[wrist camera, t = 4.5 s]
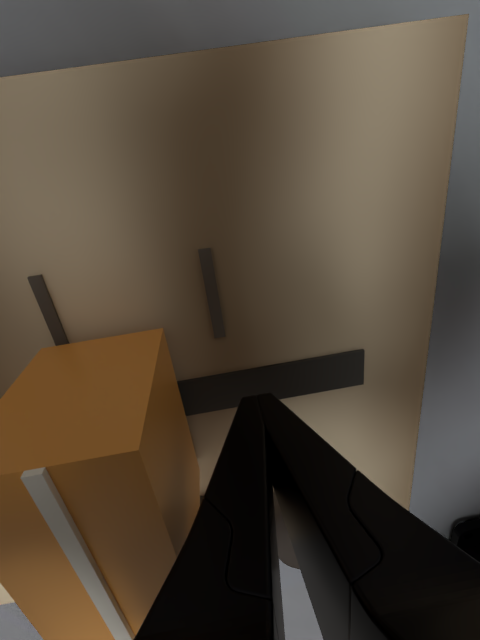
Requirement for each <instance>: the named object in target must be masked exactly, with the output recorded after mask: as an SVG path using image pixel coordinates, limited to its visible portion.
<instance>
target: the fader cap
mask: <svg viewBox="0 0 480 640" xmlns="http://www.w3.org/2000/svg"><path fill="white" fill-rule="evenodd" d="M199 507H200V469H199V465H198V461H197V457H196V453H195V450H194V446H193V442H192V438H191V434H190V430H189V426H188V422H187V419H186V415H185V411H184V407H183V403H182V399H181V395H180V392H179V388H178V384H177V380H176V376H175V372H174V368H173V365H172V361H171V357H170V353H169V349H168V345H167V341H166V337H165V334H164V330H163V328H160V329H154V330H148V331H142V332H136V333H130V334H124V335H118V336H112V337H106V338H100V339H94V340H88V341H82V342H76V343H70V344H64V345H58V346H53V347H47V348H41V349H40V351H39V352H38V353H37V354H36V356H35V357H34V358H33V359H32V360H31V362H30V363H29V364H28V365H27V367H26V368H25V369H24V370H23V372H22V373H21V374H20V375H19V377H18V378H17V379H16V380H15V381H14V383H13V384H12V385H11V386H10V388H9V389H8V390H7V391H6V393H5V394H4V395H3V396H2V398H1V399H0V583H1V584H2V586H3V587H4V588H5V590H6V591H7V592H8V593H9V595H10V596H11V597H12V599H13V600H14V601H15V603H16V604H17V605H18V607H19V608H20V609H21V610H22V612H23V613H24V614H25V616H26V617H27V618H28V620H29V621H30V622H31V624H32V625H33V626H34V627H35V629H36V630H37V631H38V633H39V634H40V635H41V637H42V638H43V639H44V640H133V639H134V638H135V636H136V634H137V632H138V630H139V629H140V627H141V625H142V623H143V621H144V619H145V617H146V615H147V614H148V612H149V610H150V608H151V606H152V604H153V602H154V600H155V598H156V596H157V595H158V593H159V591H160V589H161V587H162V585H163V583H164V581H165V579H166V577H167V576H168V574H169V572H170V570H171V568H172V566H173V564H174V562H175V560H176V558H177V556H178V554H179V552H180V550H181V548H182V546H183V544H184V542H185V540H186V538H187V536H188V534H189V531H190V529H191V527H192V524H193V522H194V519H195V517H196V515H197V512H198V510H199Z"/></svg>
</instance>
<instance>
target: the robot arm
mask: <svg viewBox="0 0 480 640" xmlns="http://www.w3.org/2000/svg"><path fill="white" fill-rule="evenodd" d="M273 489H274V492H275V495H276V498H277V501H278V504H279V507H280V510H281V513H282V516H283V519H284V522H285V525H286V528H287V531H288V534H289V537H290V540H291V543H292V546H293V549H294V552H295V555H296V558H297V561H298V564H299V567H300V570H301V573H302V576H303V579H304V582H305V585H306V588H307V591H308V594H309V597H310V600H311V603H312V606H313V609H314V612H315V615H316V618H317V621H318V624H319V627H320V630H321V633H322V636H323V639H324V640H480V519H476V520H471V521H466V522H462V523H460V524H458V525H457V526H456V527H455V528H454V530H453V534H452V539H451V542H450V541H449V540H448V539H446V538H445V537H443V536H442V535H441V534H439V533H438V532H437V531H435V530H434V529H432V528H431V527H430V526H428V525H427V524H425V523H424V522H423V521H421V520H420V519H419V518H417V517H416V516H414V515H413V514H412V513H410V512H409V511H408V510H406V509H405V508H404V507H402V506H401V505H400V504H398V503H397V502H396V501H395V500H393V499H392V498H391V497H389V496H388V495H387V494H386V493H385V492H383V491H382V490H381V489H380V488H379V487H377V486H376V485H375V484H374V483H373V482H371V481H370V480H369V479H368V478H367V477H366V476H365V475H364V474H362V473H361V472H360V471H359V470H357V469H356V467H354V466H353V465H352V464H351V463H350V462H349V461H348V460H347V459H345V458H344V457H343V456H342V455H341V454H340V453H339V452H338V451H336V450H335V449H334V448H333V447H332V446H331V445H330V444H329V443H327V442H326V441H325V440H324V439H323V438H322V437H321V436H320V435H318V434H317V433H316V432H315V431H314V430H313V429H312V428H311V427H309V426H308V425H307V424H306V423H305V422H304V421H303V420H302V419H300V418H299V417H298V416H297V415H296V414H295V413H294V412H293V411H291V410H290V409H289V408H288V407H287V406H286V405H285V404H283V403H282V402H281V401H280V400H279V399H278V398H277V397H276V396H274V395H273V394H272V393H263V394H258V395H257V396H256V395H252V396H246V397H242V398H241V400H240V403H239V405H238V408H237V410H236V413H235V416H234V418H233V421H232V424H231V426H230V429H229V431H228V434H227V437H226V439H225V442H224V444H223V447H222V450H221V452H220V455H219V458H218V460H217V463H216V465H215V468H214V471H213V473H212V476H211V479H210V481H209V484H208V486H207V489H206V492H205V494H204V499H202V502H201V504H200V507H199V510H198V512H197V515H196V517H195V519H194V522H193V524H192V527H191V529H190V531H189V534H188V536H187V538H186V540H185V542H184V544H183V546H182V548H181V550H180V552H179V554H178V556H177V558H176V560H175V562H174V564H173V566H172V568H171V570H170V572H169V574H168V576H167V577H166V579H165V581H164V583H163V585H162V587H161V589H160V591H159V593H158V595H157V596H156V598H155V600H154V602H153V604H152V606H151V608H150V610H149V612H148V614H147V615H146V617H145V619H144V621H143V623H142V625H141V627H140V629H139V630H138V632H137V634H136V636H135V638H134V639H133V640H285V632H284V620H283V607H282V595H281V582H280V570H279V557H278V545H277V532H276V520H275V507H274V495H273Z"/></svg>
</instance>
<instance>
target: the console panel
mask: <svg viewBox="0 0 480 640" xmlns="http://www.w3.org/2000/svg"><path fill="white" fill-rule="evenodd" d="M468 17H469V14H464V15H457V16H450V17H442V18H435V19H428V20H420V21H413V22H405V23H398V24H391V25H383V26H376V27H368V28H361V29H354V30H346V31H339V32H332V33H324V34H317V35H309V36H302V37H295V38H287V39H280V40H272V41H265V42H258V43H250V44H243V45H236V46H228V47H221V48H213V49H206V50H199V51H191V52H184V53H176V54H169V55H162V56H154V57H147V58H140V59H132V60H125V61H117V62H110V63H103V64H95V65H88V66H81V67H73V68H66V69H58V70H51V71H44V72H36V73H29V74H21V75H14V76H7V77H0V399H1V398H2V396H3V395H4V394H5V393H6V391H7V390H8V389H9V388H10V386H11V385H12V384H13V383H14V381H15V380H16V379H17V378H18V377H19V375H20V374H21V373H22V372H23V370H24V369H25V368H26V367H27V365H28V364H29V363H30V362H31V360H32V359H33V358H34V357H35V356H36V354H37V353H38V352H39V351H40V349H41V348H47V347H53V346H58V345H64V344H70V343H76V342H82V341H88V340H94V339H100V338H106V337H112V336H118V335H124V334H130V333H136V332H142V331H148V330H154V329H160V328H163V330H164V334H165V337H166V341H167V345H168V349H169V353H170V357H171V361H172V365H173V368H174V372H175V376H176V380H177V384H178V388H179V392H180V395H181V399H182V403H183V407H184V411H185V415H186V419H187V422H188V426H189V430H190V434H191V438H192V442H193V446H194V450H195V453H196V457H197V461H198V465H199V469H200V504H201V502H202V499H204V494H205V492H206V489H207V486H208V484H209V481H210V479H211V476H212V473H213V471H214V468H215V465H216V463H217V460H218V458H219V455H220V452H221V450H222V447H223V444H224V442H225V439H226V437H227V434H228V431H229V429H230V426H231V424H232V421H233V418H234V416H235V413H236V410H237V408H238V405H239V403H240V400H241V398H242V397H246V396H252V395H256V396H257V395H258V394H263V393H272V394H273V395H274V396H276V397H277V398H278V399H279V400H280V401H281V402H282V403H283V404H285V405H286V406H287V407H288V408H289V409H290V410H291V411H293V412H294V413H295V414H296V415H297V416H298V417H299V418H300V419H302V420H303V421H304V422H305V423H306V424H307V425H308V426H309V427H311V428H312V429H313V430H314V431H315V432H316V433H317V434H318V435H320V436H321V437H322V438H323V439H324V440H325V441H326V442H327V443H329V444H330V445H331V446H332V447H333V448H334V449H335V450H336V451H338V452H339V453H340V454H341V455H342V456H343V457H344V458H345V459H347V460H348V461H349V462H350V463H351V464H352V465H353V466H354V467H356V469H357V470H359V471H360V472H361V473H362V474H364V475H365V476H366V477H367V478H368V479H369V480H370V481H371V482H373V483H374V484H375V485H376V486H377V487H379V488H380V489H381V490H382V491H383V492H385V493H386V494H387V495H388V496H389V497H391V498H392V499H393V500H395V501H396V502H397V503H398V504H400V505H401V506H402V507H404V508H405V509H406V510H408V511H409V505H410V497H411V489H412V480H413V472H414V464H415V455H416V447H417V439H418V431H419V422H420V414H421V406H422V398H423V389H424V381H425V373H426V364H427V356H428V348H429V340H430V331H431V323H432V315H433V307H434V298H435V290H436V282H437V273H438V265H439V257H440V249H441V240H442V232H443V224H444V216H445V207H446V199H447V191H448V182H449V174H450V166H451V158H452V149H453V141H454V133H455V125H456V116H457V108H458V100H459V91H460V83H461V75H462V67H463V58H464V50H465V42H466V34H467V25H468ZM273 495H274V507H275V520H276V532H277V545H278V557H279V559H280V560H281V561H282V562H283V563H285V564H286V565H288V566H290V567H293V568H297V569H300V567H299V564H298V561H297V558H296V555H295V552H294V549H293V546H292V543H291V540H290V537H289V534H288V531H287V528H286V525H285V522H284V519H283V516H282V513H281V510H280V507H279V504H278V501H277V498H276V495H275V492H274V489H273ZM13 602H15V601H14V600H13V599H12V597H11V596H10V595H9V593H8V592H7V591H6V590H5V588H4V587H3V586H2V584H1V583H0V605H2V604H7V603H13Z"/></svg>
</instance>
